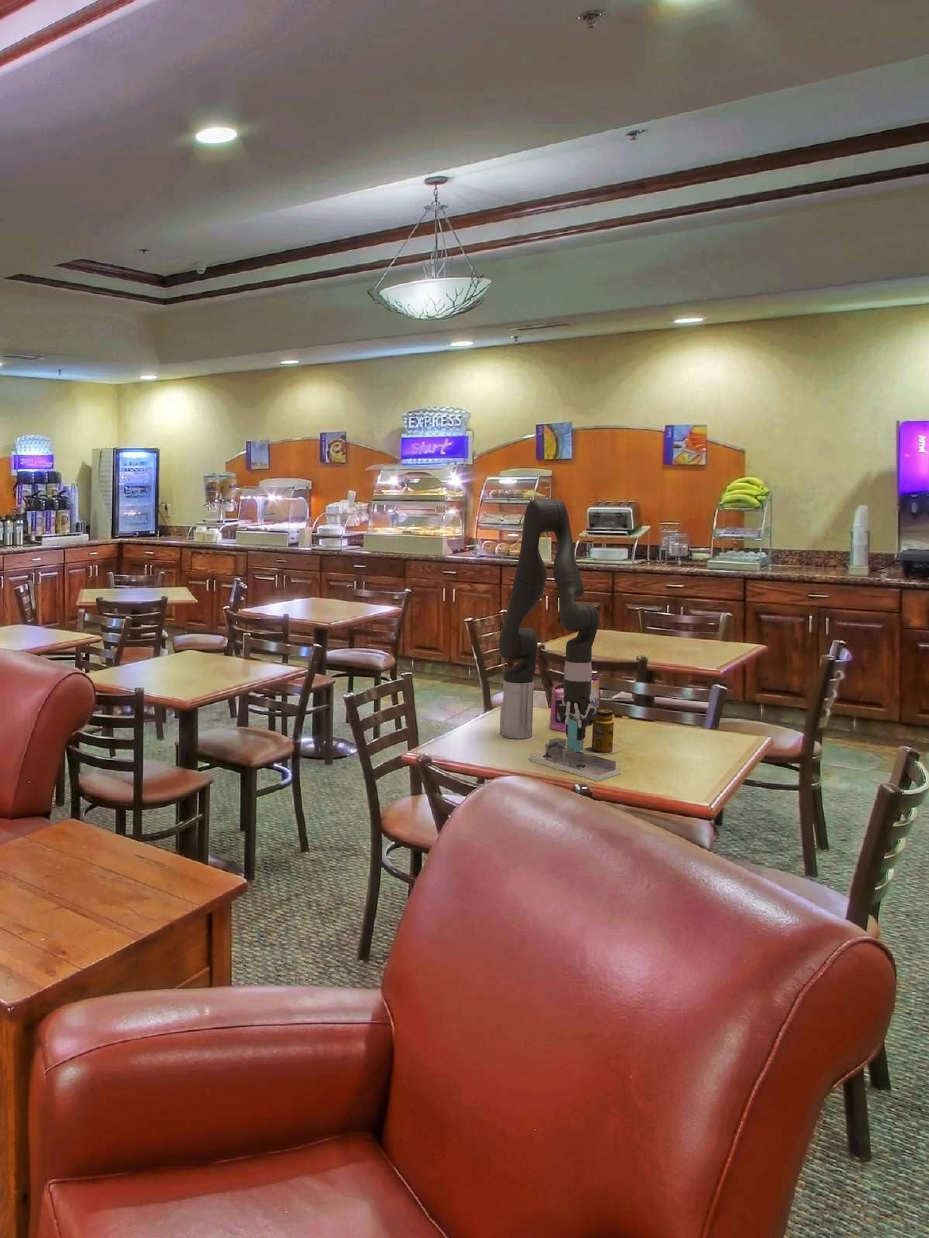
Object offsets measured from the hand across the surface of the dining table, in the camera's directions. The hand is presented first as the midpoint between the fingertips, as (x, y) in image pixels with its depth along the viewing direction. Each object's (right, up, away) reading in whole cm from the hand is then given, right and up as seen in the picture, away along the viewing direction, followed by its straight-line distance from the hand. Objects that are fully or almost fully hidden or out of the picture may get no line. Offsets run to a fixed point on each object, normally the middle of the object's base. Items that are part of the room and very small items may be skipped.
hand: (575, 738), depth 245 cm
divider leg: (-1, -5, 0) cm, 5 cm away
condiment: (+9, -6, +14) cm, 17 cm away
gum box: (+5, -1, +45) cm, 45 cm away
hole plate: (-1, -7, -2) cm, 8 cm away
